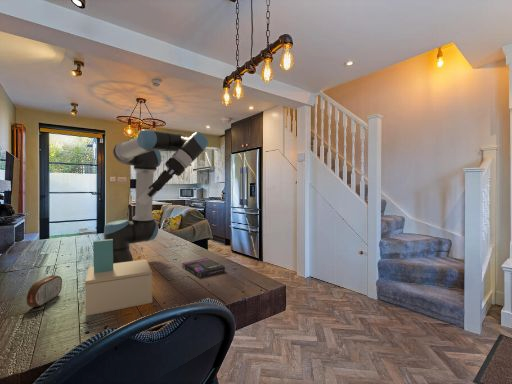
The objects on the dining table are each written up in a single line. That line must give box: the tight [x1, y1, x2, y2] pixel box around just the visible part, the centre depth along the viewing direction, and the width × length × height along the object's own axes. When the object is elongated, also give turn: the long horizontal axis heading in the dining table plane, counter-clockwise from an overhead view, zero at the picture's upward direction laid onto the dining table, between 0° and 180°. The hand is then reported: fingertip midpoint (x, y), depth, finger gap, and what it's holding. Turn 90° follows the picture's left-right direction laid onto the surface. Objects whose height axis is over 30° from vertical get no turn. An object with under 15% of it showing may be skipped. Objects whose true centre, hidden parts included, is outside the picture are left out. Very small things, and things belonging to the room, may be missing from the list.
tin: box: [26, 274, 63, 308], centre depth 96 cm, size 15×3×8 cm, turn 5°
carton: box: [84, 273, 153, 317], centre depth 98 cm, size 20×18×10 cm
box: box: [181, 257, 226, 279], centre depth 132 cm, size 14×4×20 cm
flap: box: [84, 239, 153, 285], centre depth 98 cm, size 20×18×12 cm
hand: (140, 202), depth 101 cm, fingers open, 13 cm apart
